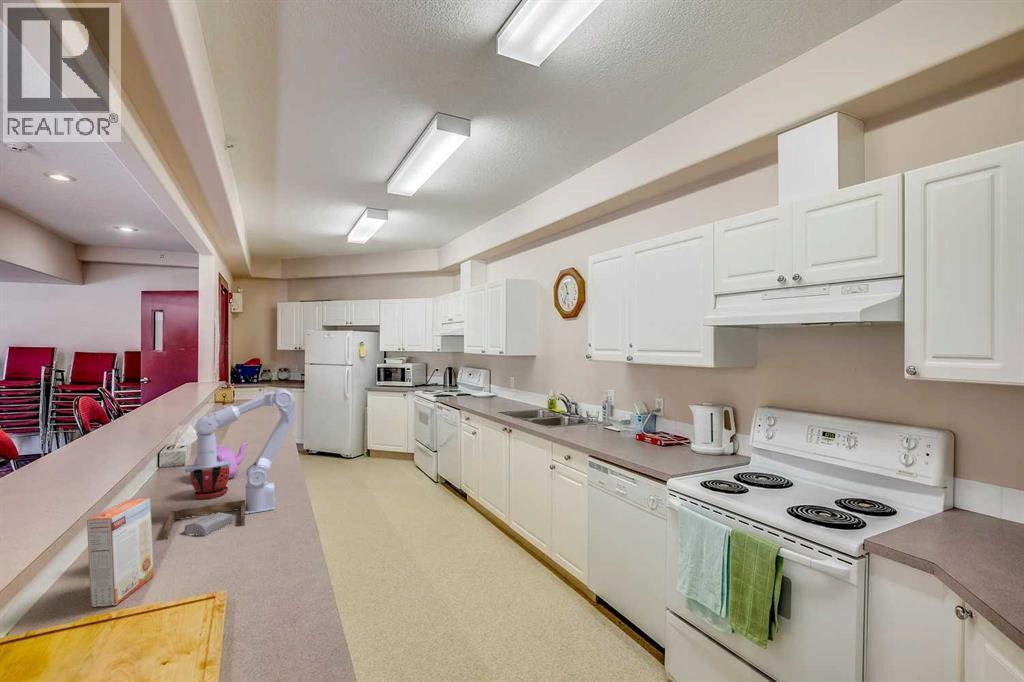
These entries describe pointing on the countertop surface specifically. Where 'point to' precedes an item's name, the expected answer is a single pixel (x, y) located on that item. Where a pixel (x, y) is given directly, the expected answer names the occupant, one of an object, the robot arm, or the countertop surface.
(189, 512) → the brown wooden open frame
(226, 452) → the teapot
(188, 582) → the countertop surface
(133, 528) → the cracker box
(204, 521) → the stone block
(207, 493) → the plant pot
